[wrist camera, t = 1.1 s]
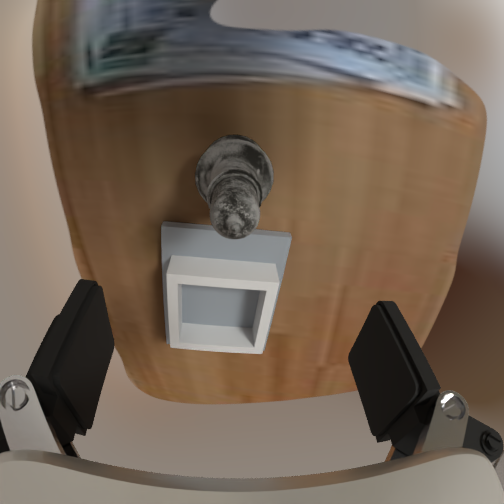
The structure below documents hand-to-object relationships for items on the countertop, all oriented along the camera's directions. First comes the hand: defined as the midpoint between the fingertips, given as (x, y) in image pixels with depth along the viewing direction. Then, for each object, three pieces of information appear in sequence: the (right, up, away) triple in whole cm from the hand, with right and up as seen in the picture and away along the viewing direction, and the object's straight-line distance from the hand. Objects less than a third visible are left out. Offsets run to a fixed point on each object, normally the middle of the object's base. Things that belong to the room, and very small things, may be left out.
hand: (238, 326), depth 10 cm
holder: (-3, -2, +23) cm, 23 cm away
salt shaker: (-1, +10, +16) cm, 19 cm away
